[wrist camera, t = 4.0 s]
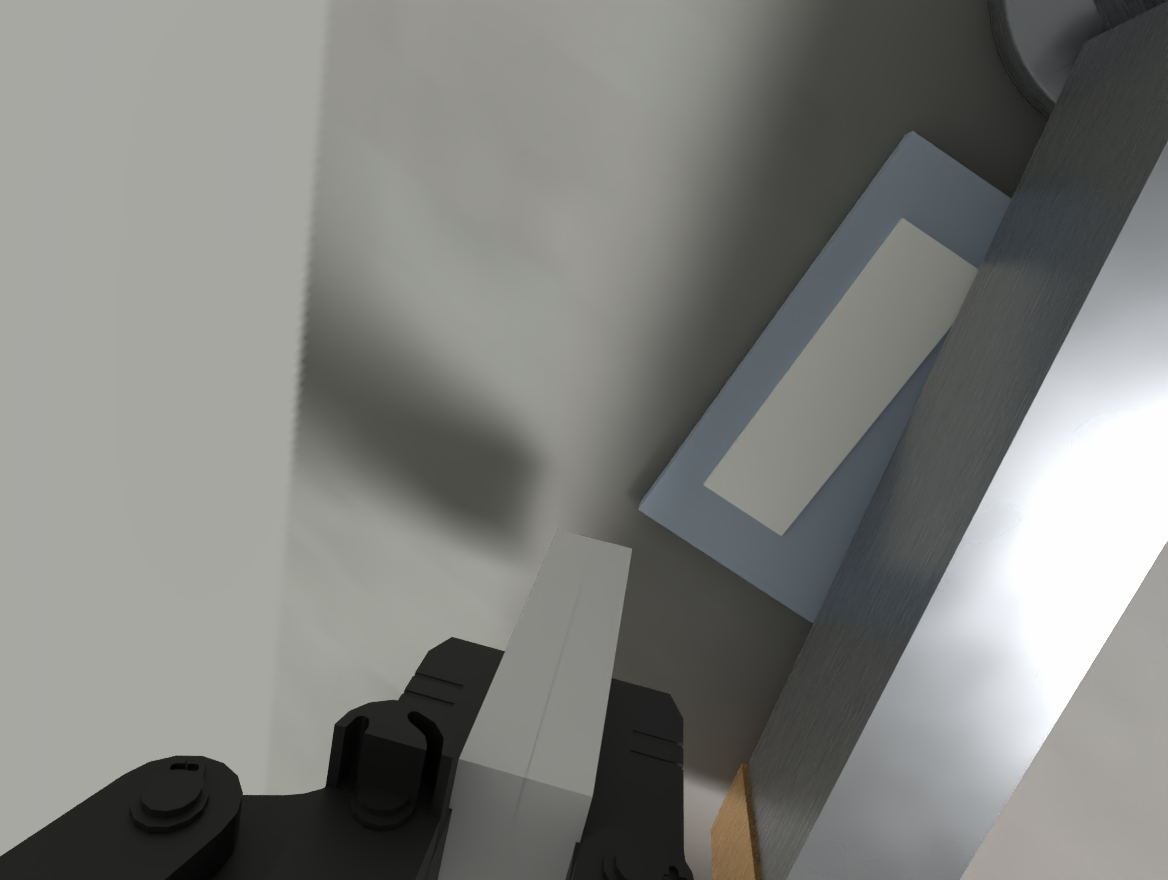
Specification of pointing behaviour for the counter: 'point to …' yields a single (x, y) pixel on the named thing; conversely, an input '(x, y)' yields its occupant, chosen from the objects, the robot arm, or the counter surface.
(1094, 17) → the pivot base
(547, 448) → the counter surface
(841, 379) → the label plate
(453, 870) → the robot arm
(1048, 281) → the swing arm
